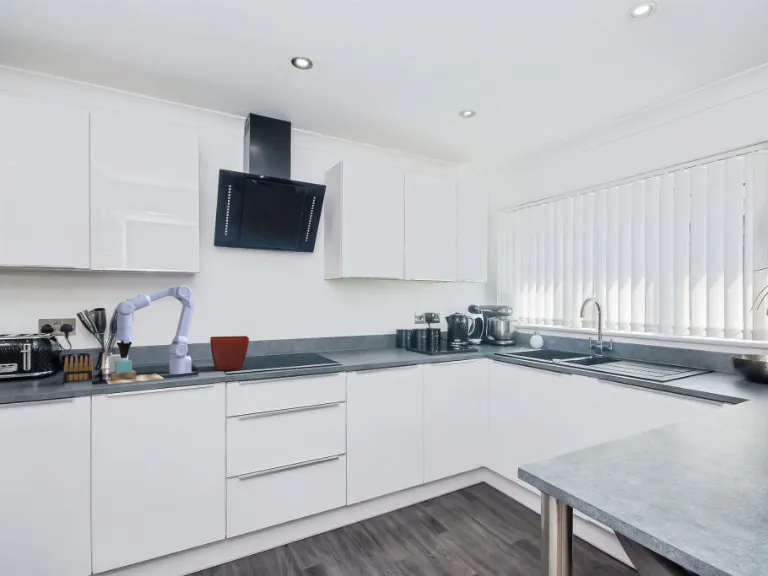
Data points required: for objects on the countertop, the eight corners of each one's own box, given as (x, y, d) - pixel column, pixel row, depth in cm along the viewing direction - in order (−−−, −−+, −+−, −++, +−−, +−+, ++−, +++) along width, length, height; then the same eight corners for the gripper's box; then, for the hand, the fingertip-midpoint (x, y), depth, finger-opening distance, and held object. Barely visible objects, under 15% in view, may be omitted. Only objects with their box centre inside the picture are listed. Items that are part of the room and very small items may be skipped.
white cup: (124, 373, 204) (125, 353, 204) (130, 375, 199) (131, 354, 199) (106, 375, 198) (106, 355, 198) (112, 377, 193) (112, 356, 193)
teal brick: (130, 370, 189) (130, 359, 189) (131, 371, 186) (132, 360, 186) (114, 372, 185) (115, 361, 185) (116, 373, 182) (116, 362, 182)
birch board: (156, 375, 199) (156, 373, 199) (164, 380, 186) (164, 378, 186) (104, 380, 186) (104, 378, 186) (108, 386, 173) (108, 384, 173)
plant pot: (246, 365, 233) (246, 335, 233) (249, 370, 215) (249, 338, 216) (209, 367, 225) (210, 336, 226) (209, 372, 208) (210, 339, 208)
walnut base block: (133, 376, 191) (133, 370, 191) (136, 378, 185) (136, 372, 185) (110, 378, 185) (110, 372, 185) (112, 381, 180) (112, 374, 180)
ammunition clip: (93, 380, 185) (93, 354, 186) (92, 381, 184) (93, 354, 184) (63, 383, 180) (64, 355, 181) (62, 383, 179) (63, 356, 179)
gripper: (112, 327, 189) (111, 356, 189) (116, 329, 178) (115, 360, 177) (130, 326, 194) (129, 355, 193) (134, 328, 182) (134, 359, 182)
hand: (123, 357), depth 186 cm, fingers closed
